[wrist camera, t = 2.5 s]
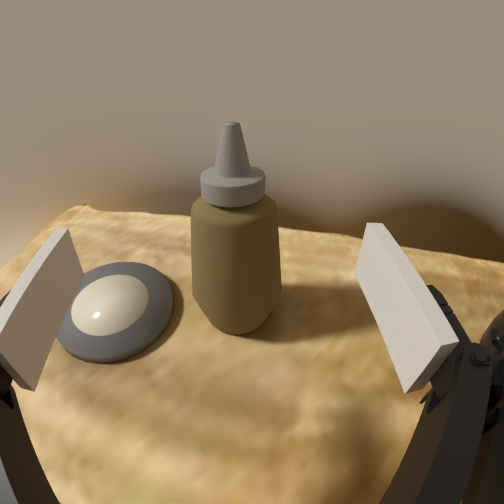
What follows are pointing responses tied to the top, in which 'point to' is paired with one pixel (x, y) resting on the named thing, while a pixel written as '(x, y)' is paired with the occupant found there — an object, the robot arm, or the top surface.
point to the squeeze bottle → (235, 241)
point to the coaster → (116, 312)
